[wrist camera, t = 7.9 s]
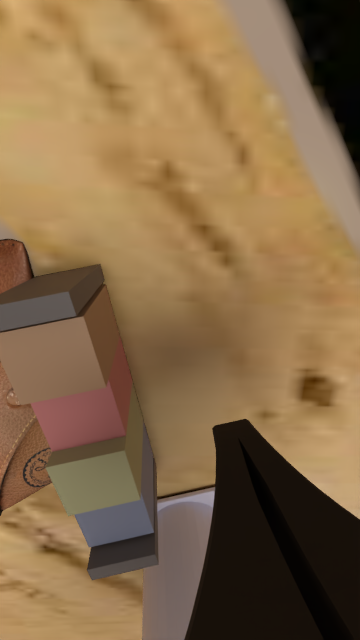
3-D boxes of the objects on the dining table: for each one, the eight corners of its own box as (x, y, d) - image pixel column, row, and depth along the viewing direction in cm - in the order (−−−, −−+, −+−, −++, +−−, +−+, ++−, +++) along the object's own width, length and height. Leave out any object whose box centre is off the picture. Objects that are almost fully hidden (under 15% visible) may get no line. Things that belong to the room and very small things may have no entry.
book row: (156, 466, 23) (158, 564, 16) (108, 476, 23) (92, 580, 16) (100, 264, 17) (68, 291, 10) (35, 276, 17) (-38, 312, 10)
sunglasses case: (114, 458, 22) (48, 548, 17) (55, 443, 25) (-17, 514, 20) (20, 228, 16) (-135, 252, 10) (-42, 247, 19) (-186, 273, 14)
